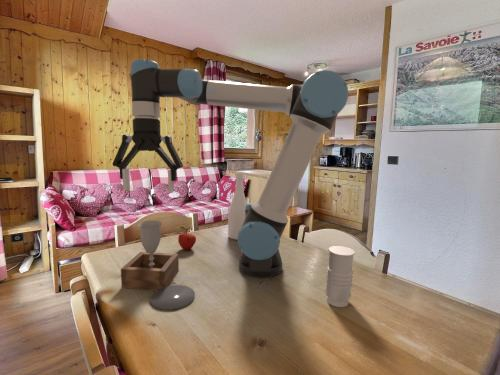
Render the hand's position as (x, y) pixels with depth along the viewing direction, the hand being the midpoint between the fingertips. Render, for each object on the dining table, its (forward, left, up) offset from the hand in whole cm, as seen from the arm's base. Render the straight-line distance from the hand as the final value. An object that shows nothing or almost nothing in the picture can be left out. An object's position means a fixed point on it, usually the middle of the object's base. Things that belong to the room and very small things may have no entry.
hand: (148, 191), depth 86 cm
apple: (-4, -25, -28) cm, 38 cm away
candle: (-56, +7, -28) cm, 63 cm away
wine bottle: (-23, -43, -28) cm, 57 cm away
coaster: (-10, +10, -28) cm, 32 cm away
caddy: (0, 0, -28) cm, 28 cm away
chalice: (0, 0, -28) cm, 28 cm away
